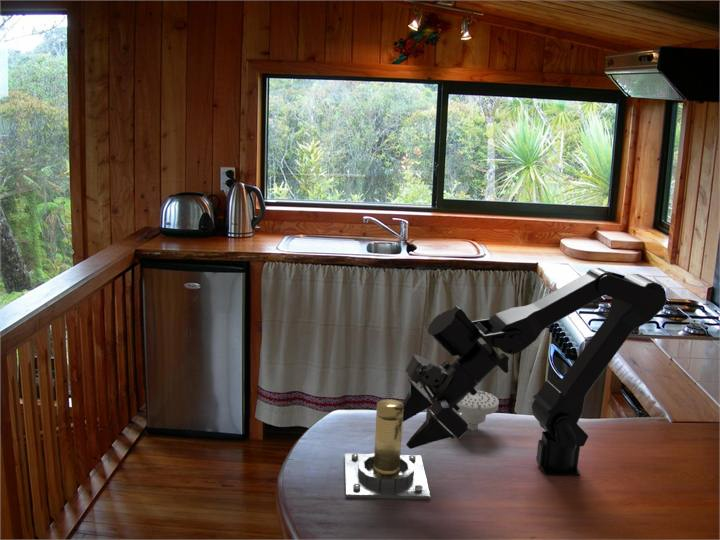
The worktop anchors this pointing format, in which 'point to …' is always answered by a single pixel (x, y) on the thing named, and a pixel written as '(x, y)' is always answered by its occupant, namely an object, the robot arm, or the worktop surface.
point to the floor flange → (385, 479)
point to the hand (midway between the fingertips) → (401, 434)
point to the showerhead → (477, 408)
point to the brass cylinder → (388, 438)
